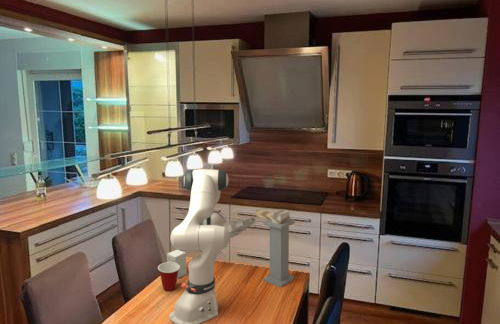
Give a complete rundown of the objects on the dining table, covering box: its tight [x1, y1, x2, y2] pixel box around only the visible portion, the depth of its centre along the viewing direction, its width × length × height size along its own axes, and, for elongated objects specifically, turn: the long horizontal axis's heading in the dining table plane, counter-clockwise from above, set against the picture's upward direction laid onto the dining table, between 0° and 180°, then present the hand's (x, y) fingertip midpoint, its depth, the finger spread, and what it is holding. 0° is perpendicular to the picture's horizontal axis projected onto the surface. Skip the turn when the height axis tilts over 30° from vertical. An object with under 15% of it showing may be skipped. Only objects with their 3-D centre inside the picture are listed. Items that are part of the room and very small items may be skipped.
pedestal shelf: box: [263, 218, 296, 288], centre depth 189 cm, size 12×11×32 cm
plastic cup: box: [157, 262, 180, 292], centre depth 182 cm, size 11×11×12 cm
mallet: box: [254, 208, 291, 224], centre depth 189 cm, size 18×8×5 cm, turn 50°
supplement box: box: [166, 249, 188, 280], centre depth 197 cm, size 7×7×13 cm
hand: (249, 220), depth 200 cm, fingers open, 8 cm apart
